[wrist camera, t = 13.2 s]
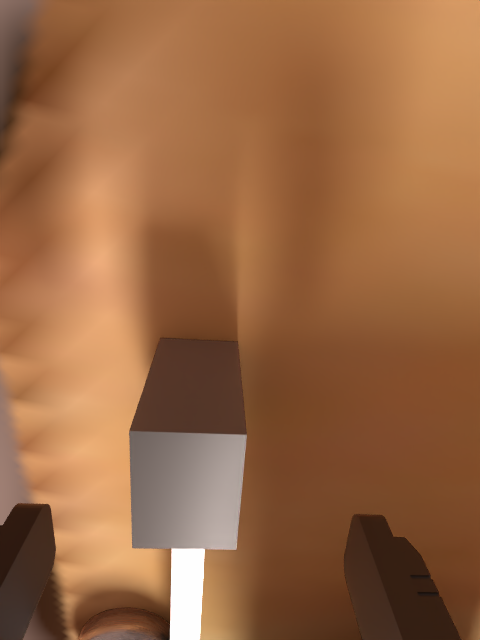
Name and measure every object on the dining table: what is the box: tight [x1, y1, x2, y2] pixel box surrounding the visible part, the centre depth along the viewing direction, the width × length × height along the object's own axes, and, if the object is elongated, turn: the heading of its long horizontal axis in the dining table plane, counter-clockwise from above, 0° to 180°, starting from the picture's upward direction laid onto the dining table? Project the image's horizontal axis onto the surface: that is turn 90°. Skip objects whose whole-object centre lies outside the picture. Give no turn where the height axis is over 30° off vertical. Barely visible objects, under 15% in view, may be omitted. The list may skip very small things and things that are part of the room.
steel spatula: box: [129, 338, 247, 640], centre depth 17 cm, size 20×3×6 cm, turn 176°
